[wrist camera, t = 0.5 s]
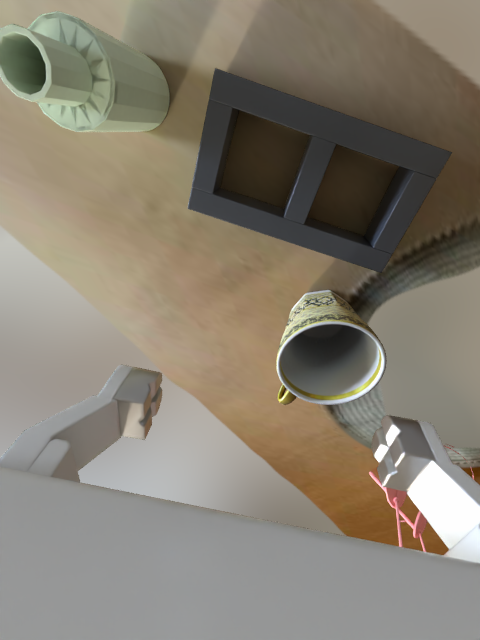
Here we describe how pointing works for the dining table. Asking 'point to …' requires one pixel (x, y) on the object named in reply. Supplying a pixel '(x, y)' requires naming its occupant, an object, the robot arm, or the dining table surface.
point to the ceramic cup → (328, 352)
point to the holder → (311, 172)
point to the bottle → (82, 76)
